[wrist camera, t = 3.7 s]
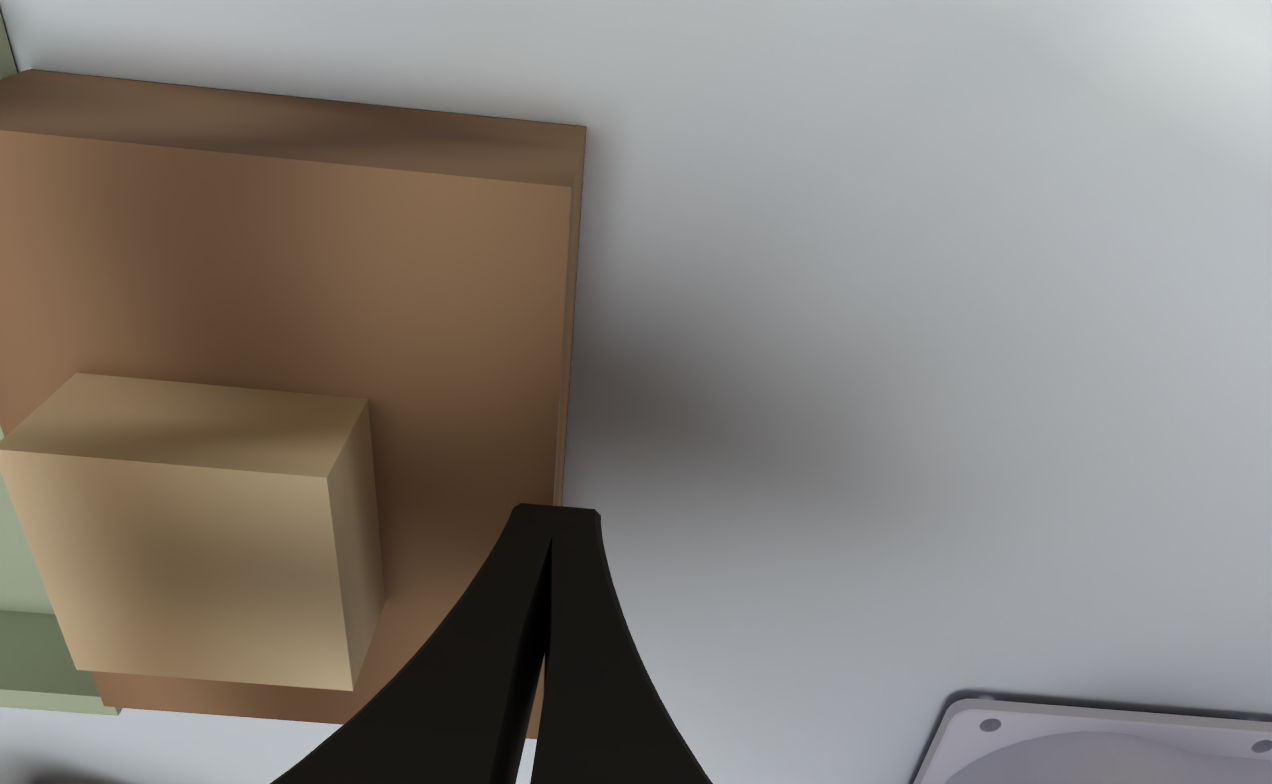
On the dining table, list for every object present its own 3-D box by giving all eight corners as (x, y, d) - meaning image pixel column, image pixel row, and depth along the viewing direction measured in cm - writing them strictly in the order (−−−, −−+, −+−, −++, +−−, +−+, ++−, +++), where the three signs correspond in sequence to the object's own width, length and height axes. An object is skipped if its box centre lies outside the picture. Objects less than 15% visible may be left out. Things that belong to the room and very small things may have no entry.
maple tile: (367, 398, 13) (327, 478, 12) (385, 601, 16) (353, 691, 14) (75, 372, 13) (-9, 448, 12) (138, 581, 16) (76, 669, 14)
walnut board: (586, 127, 14) (571, 187, 12) (553, 629, 20) (539, 739, 18) (29, 69, 14) (-113, 118, 11) (173, 598, 20) (104, 706, 18)
